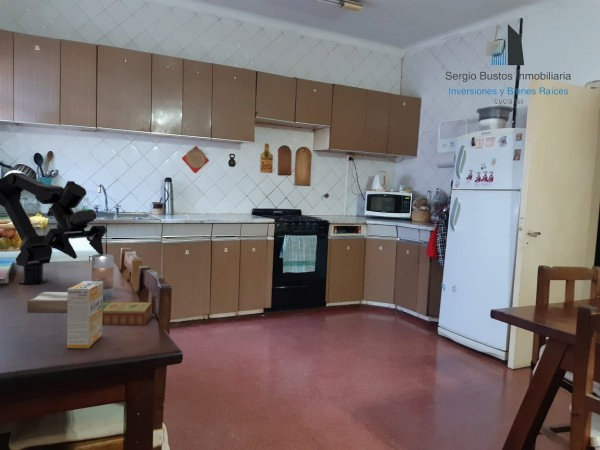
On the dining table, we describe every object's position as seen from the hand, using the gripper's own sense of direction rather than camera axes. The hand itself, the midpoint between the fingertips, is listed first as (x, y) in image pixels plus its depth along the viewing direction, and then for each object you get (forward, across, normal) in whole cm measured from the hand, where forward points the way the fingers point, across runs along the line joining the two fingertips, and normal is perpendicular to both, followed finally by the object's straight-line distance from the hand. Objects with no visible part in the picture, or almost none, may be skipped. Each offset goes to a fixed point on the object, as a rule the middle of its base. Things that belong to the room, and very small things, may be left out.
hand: (89, 256), depth 137 cm
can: (+13, 0, +4) cm, 14 cm away
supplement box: (+33, -27, -15) cm, 45 cm away
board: (+11, -14, +6) cm, 19 cm away
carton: (+28, -12, -10) cm, 32 cm away
